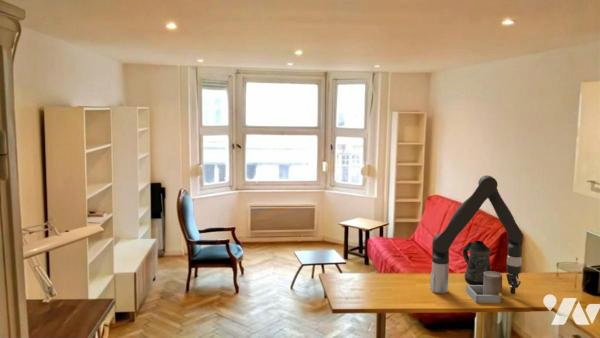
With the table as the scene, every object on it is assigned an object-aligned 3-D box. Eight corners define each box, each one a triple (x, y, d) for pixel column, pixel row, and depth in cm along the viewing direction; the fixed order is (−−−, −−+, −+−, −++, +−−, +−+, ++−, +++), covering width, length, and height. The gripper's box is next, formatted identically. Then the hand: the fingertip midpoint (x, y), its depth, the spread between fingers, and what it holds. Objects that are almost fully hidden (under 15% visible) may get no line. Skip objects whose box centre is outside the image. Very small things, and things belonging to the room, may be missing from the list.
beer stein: (490, 288, 260) (492, 247, 258) (456, 282, 271) (458, 242, 268) (495, 280, 274) (497, 241, 271) (463, 274, 285) (464, 236, 282)
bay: (475, 302, 240) (476, 293, 240) (465, 291, 256) (466, 283, 255) (501, 302, 240) (501, 293, 239) (489, 292, 255) (490, 283, 255)
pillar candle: (502, 296, 249) (503, 270, 248) (500, 302, 241) (501, 275, 239) (484, 293, 254) (485, 267, 253) (481, 298, 246) (482, 272, 245)
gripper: (502, 259, 252) (500, 289, 254) (512, 267, 239) (511, 298, 241) (515, 259, 252) (514, 289, 253) (526, 267, 238) (525, 298, 240)
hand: (512, 293), depth 247 cm, fingers closed
